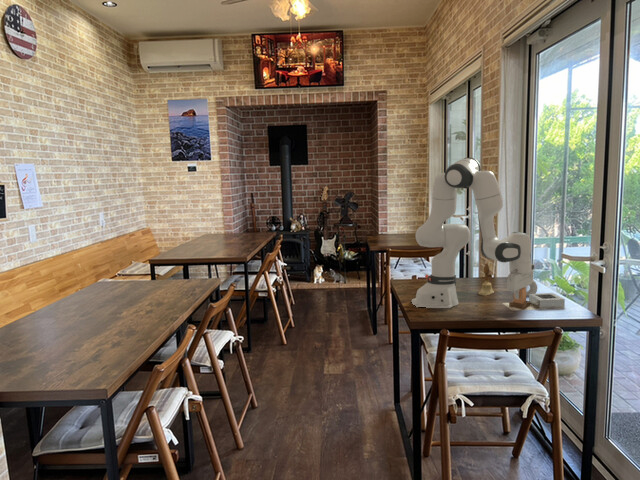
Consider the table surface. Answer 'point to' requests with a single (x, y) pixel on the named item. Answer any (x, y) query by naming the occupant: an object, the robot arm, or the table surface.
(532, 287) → the donut
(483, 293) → the hand bell
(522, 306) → the peg holder
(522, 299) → the peg
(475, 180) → the robot arm
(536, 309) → the board
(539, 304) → the socket block
